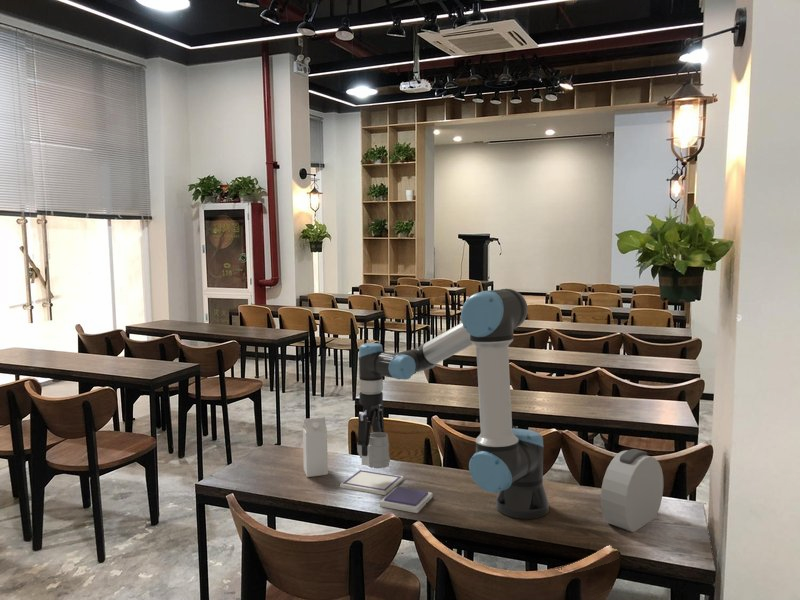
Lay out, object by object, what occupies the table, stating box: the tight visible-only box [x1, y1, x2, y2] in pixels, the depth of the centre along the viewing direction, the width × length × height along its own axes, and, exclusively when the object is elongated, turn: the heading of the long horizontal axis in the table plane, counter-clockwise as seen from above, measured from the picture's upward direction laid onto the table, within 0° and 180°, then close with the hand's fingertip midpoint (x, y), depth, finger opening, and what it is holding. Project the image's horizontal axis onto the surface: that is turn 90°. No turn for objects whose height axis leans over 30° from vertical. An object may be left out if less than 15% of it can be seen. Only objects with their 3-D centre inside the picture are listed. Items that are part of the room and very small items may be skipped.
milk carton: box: [302, 416, 329, 478], centre depth 208 cm, size 7×7×19 cm
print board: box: [339, 469, 404, 496], centre depth 199 cm, size 16×14×1 cm
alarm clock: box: [600, 448, 664, 533], centre depth 170 cm, size 21×8×20 cm, turn 131°
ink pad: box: [379, 486, 433, 514], centre depth 184 cm, size 12×12×2 cm
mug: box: [356, 432, 391, 469], centre depth 198 cm, size 8×12×12 cm, turn 61°
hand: (371, 460), depth 198 cm, fingers closed on mug, 7 cm apart
